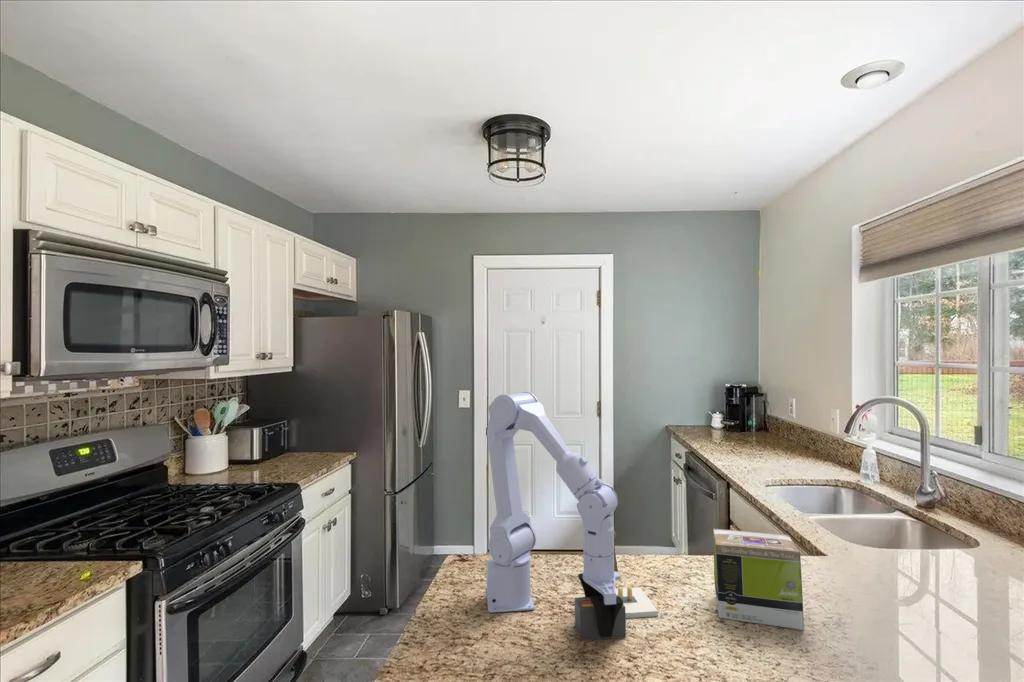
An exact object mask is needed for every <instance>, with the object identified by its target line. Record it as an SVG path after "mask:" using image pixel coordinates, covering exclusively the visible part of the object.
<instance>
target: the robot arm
mask: <svg viewBox="0 0 1024 682" xmlns="http://www.w3.org/2000/svg"><path fill="white" fill-rule="evenodd" d="M488 414H489V420H488V423H487V428H486V435H487V445H488V452H489V461H490V470H491V477H492V483H493V493H494V503H495V510H496V515H495V518H494V520H493V521H492V523H491V525H490V527H489V533H490V534H489V535H490V536H489V541H488V551H489V555H490V557H491V558H492V559H488V560H486V565H485V566H486V567H485V569H486V573H485V574H486V576H485V577H486V587H485V589H484V590H485V598H486V602H487V612H488V613H490V614H491V613H501V612H502V613H503V612H504V613H506V612H519V611H520V612H521V611H533V610H535V603H534V601H533V597H532V593H531V561H530V560H531V555H532V550H533V549H534V548H535V546H536V543H537V535H536V532H535V529H534V528H533V526H532V523H531V517H530V516H529V515H528V514H527V513H526V512H525V511H524V510H523V507H522V506H523V505H522V497H521V496H522V495H521V490H520V483H519V475H518V474H519V473H518V467H517V459H516V451H515V445H514V437H515V435H516V434H517V433H518V432H519V430H522V431H526V432H531V433H532V434H533V436H534V437H535V438H536V439H537V440H538V441H539V442H540V444H541V445H542V447H544V449H545V450H546V451H547V452H548V453H549V455H550V456H551V457H552V458H553V460H555V462H556V469H555V470H556V473H557V474H558V476H559V477H560V478H561V480H562V482H563V483H564V484H565V486H566V487H567V488H568V489H569V491H570V492H571V493H572V495H573V496H574V497H575V499H576V500H577V501H578V503H576V509H577V513H579V516H580V517H581V519H582V537H583V538H582V539H583V541H582V542H583V543H582V545H583V555H582V556H583V571H582V573H579V574H578V575H577V577H578V578H579V581H580V584H581V587H582V589H583V593H584V597H590V600H591V602H592V604H593V607H594V610H595V613H596V618H597V625H598V631H599V634H600V637H611V636H612V633H613V629H614V624H615V620H616V617H617V614H618V612H619V610H620V609H621V607H622V605H623V600H622V599H621V597H616V592H615V589H616V581H618V580H621V579H622V576H621V574H620V573H619V571H618V572H616V571H615V572H614V547H615V542H614V531H615V529H614V528H615V527H614V526H615V525H614V513H613V512H615V510H616V509H617V508H618V506H619V497H618V494H617V492H616V491H615V489H614V487H613V486H612V485H611V484H609V483H605V482H603V481H602V479H601V478H598V476H597V475H596V474H595V472H594V471H593V469H592V468H591V467H590V465H588V462H589V460H588V459H587V458H586V457H585V456H581V454H580V453H578V452H573V451H571V450H570V449H569V447H568V446H567V444H566V443H565V441H564V440H563V439H562V437H561V435H560V434H559V432H558V431H557V430H556V429H557V428H555V426H554V425H553V424H552V422H551V420H550V419H549V417H548V416H547V414H546V411H545V408H544V405H543V404H542V403H541V402H540V401H539V400H538V398H537V397H536V395H535V394H533V393H532V392H530V391H522V392H518V393H510V394H499V395H498V396H496V397H495V398H494V399H493V400H492V402H491V403H490V405H489V406H488Z"/></svg>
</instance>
